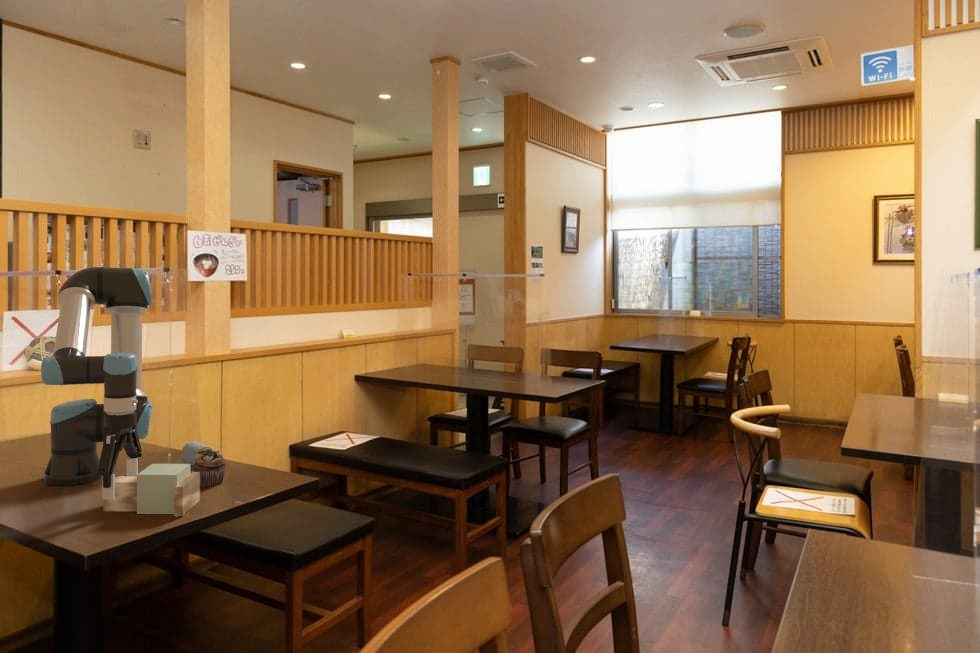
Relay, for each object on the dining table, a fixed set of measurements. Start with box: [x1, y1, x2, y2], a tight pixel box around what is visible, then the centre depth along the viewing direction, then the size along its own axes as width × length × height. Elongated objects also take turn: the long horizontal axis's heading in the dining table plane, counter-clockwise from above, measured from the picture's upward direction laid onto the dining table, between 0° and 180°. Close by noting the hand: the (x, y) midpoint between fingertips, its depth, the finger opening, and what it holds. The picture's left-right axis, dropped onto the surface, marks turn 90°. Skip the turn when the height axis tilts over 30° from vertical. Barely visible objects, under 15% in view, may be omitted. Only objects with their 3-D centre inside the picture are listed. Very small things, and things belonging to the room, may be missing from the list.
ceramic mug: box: [180, 440, 214, 467], centre depth 218 cm, size 11×8×8 cm
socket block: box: [136, 463, 192, 515], centre depth 178 cm, size 10×10×11 cm
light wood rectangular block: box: [102, 475, 137, 512], centre depth 177 cm, size 16×5×8 cm, turn 95°
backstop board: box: [174, 471, 201, 517], centre depth 178 cm, size 2×13×8 cm, turn 5°
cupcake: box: [191, 449, 227, 487], centre depth 200 cm, size 10×10×10 cm
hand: (120, 489), depth 177 cm, fingers open, 13 cm apart
